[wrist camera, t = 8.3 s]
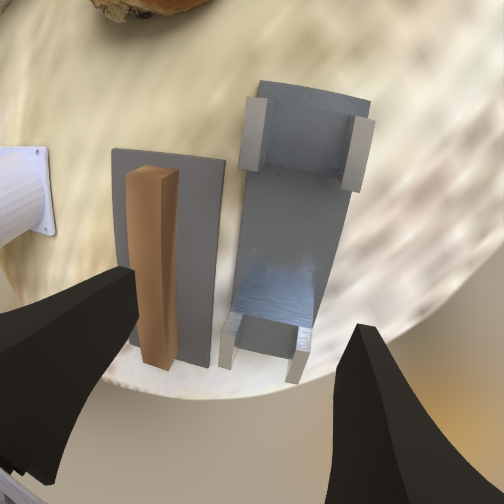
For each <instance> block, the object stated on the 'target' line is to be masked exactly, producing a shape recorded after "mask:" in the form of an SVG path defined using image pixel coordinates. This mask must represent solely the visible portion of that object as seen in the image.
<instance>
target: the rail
mask: <svg viewBox="0 0 504 504" xmlns="http://www.w3.org/2000/svg"><path fill="white" fill-rule="evenodd" d="M178 182H179V169H174V168H166V167H158V166H149V165H145V166H142V167H140V168H138V169H136V170H134V171H131V172H129V173H127V174H126V214H127V233H128V248H129V261H130V269H133V270H135V279H136V290H137V300H138V309H139V319H138V321H137V328H138V335H139V341H140V347H141V353H142V359H143V363H146V364H149V365H152V366H155V367H158V368H161V369H164V370H167V371H169V369H170V367H171V365H172V364H173V362H174V360H175V358H176V356H177V354H178V352H179V348H178V324H177V271H176V258H177V206H178Z"/></svg>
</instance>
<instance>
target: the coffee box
mask: <svg viewBox="0 0 504 504" xmlns="http://www.w3.org/2000/svg"><path fill="white" fill-rule="evenodd" d="M10 1H11V0H0V14H1V13H2V11H3V10H4V9H5V7H6V6H7V4H8V3H9V2H10Z"/></svg>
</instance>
